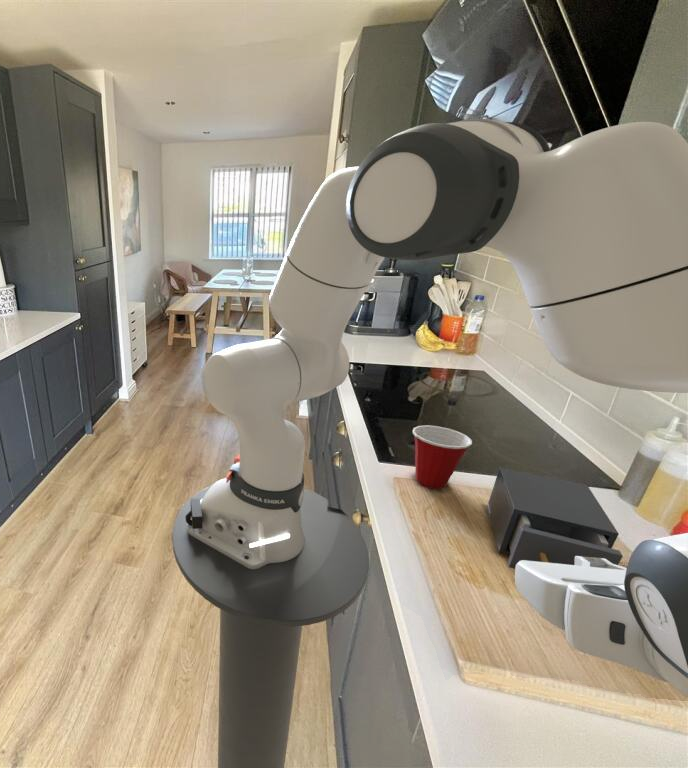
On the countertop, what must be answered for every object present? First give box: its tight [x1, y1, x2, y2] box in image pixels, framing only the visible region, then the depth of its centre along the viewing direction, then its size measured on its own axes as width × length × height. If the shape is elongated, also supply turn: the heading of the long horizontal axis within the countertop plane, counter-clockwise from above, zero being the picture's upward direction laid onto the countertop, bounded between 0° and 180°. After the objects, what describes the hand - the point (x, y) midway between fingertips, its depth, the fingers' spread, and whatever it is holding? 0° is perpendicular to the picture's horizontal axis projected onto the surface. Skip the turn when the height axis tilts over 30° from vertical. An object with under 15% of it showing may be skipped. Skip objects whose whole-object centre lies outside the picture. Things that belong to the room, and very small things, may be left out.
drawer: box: [507, 514, 624, 570], centre depth 65 cm, size 16×11×8 cm
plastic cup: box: [412, 424, 473, 490], centre depth 87 cm, size 11×11×12 cm
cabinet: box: [486, 467, 619, 557], centre depth 70 cm, size 14×13×10 cm
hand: (588, 562), depth 51 cm, fingers closed
